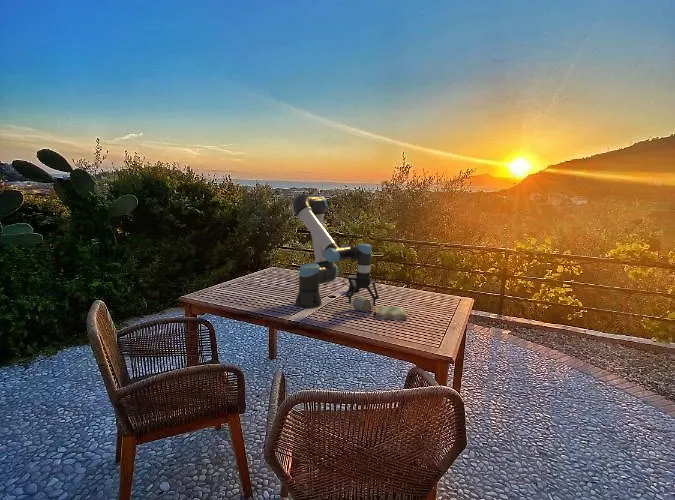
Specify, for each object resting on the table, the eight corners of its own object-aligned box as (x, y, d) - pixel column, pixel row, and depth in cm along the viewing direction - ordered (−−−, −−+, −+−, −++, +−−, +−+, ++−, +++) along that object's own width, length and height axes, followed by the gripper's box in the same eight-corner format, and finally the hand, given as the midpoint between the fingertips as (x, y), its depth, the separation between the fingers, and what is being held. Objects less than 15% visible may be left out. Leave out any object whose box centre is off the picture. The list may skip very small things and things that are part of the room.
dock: (375, 318, 199) (376, 312, 198) (375, 311, 210) (376, 305, 210) (406, 320, 197) (406, 314, 197) (404, 313, 209) (404, 307, 209)
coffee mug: (363, 290, 253) (364, 276, 251) (357, 293, 245) (357, 278, 244) (348, 288, 259) (349, 273, 257) (342, 290, 252) (342, 276, 250)
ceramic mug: (363, 313, 205) (364, 300, 204) (351, 310, 211) (352, 296, 210) (375, 310, 213) (376, 297, 212) (363, 306, 219) (364, 293, 217)
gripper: (341, 272, 205) (340, 310, 208) (385, 274, 203) (382, 313, 206) (342, 269, 212) (341, 306, 216) (384, 271, 210) (382, 309, 214)
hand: (361, 310), depth 211 cm, fingers open, 11 cm apart
